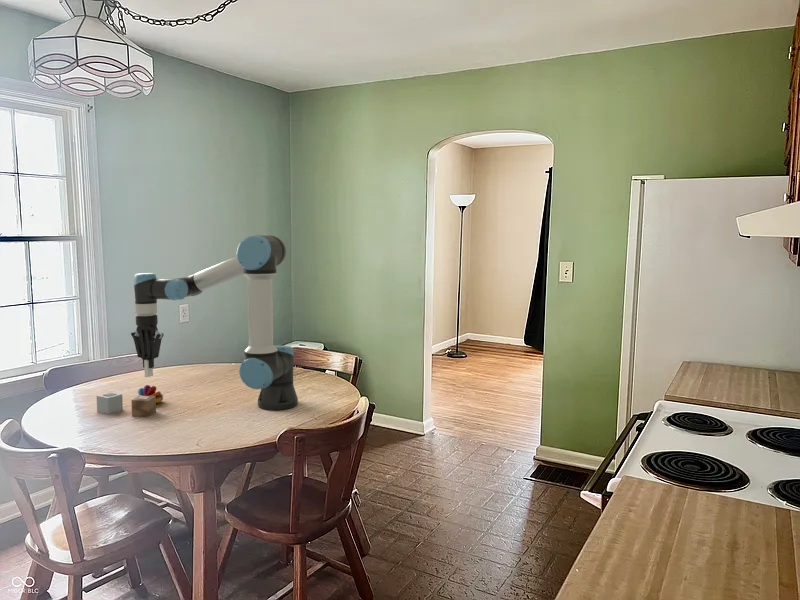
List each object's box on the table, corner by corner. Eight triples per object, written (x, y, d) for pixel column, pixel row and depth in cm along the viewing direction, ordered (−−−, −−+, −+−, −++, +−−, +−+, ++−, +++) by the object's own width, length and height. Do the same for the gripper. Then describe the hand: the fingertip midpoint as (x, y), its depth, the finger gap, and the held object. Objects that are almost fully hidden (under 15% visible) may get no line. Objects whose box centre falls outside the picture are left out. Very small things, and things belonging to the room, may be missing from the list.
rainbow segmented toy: (153, 408, 220) (153, 389, 219) (130, 406, 222) (130, 387, 221) (166, 401, 228) (166, 383, 228) (144, 400, 230) (144, 381, 230)
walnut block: (156, 412, 215) (155, 395, 215) (148, 417, 209) (148, 400, 209) (139, 411, 216) (139, 395, 215) (131, 416, 210) (131, 399, 209)
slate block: (122, 410, 217) (122, 393, 216) (108, 414, 211) (107, 397, 211) (111, 407, 219) (111, 391, 219) (97, 411, 214) (96, 395, 213)
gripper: (167, 314, 223) (170, 375, 225) (139, 312, 227) (141, 372, 229) (154, 316, 216) (156, 379, 218) (124, 314, 219) (127, 377, 222)
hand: (148, 376), depth 224 cm, fingers closed
